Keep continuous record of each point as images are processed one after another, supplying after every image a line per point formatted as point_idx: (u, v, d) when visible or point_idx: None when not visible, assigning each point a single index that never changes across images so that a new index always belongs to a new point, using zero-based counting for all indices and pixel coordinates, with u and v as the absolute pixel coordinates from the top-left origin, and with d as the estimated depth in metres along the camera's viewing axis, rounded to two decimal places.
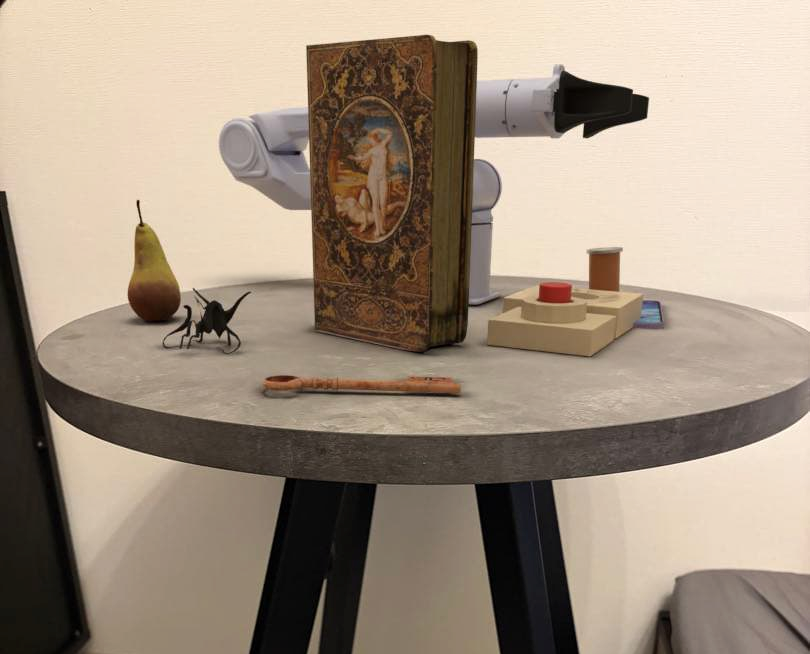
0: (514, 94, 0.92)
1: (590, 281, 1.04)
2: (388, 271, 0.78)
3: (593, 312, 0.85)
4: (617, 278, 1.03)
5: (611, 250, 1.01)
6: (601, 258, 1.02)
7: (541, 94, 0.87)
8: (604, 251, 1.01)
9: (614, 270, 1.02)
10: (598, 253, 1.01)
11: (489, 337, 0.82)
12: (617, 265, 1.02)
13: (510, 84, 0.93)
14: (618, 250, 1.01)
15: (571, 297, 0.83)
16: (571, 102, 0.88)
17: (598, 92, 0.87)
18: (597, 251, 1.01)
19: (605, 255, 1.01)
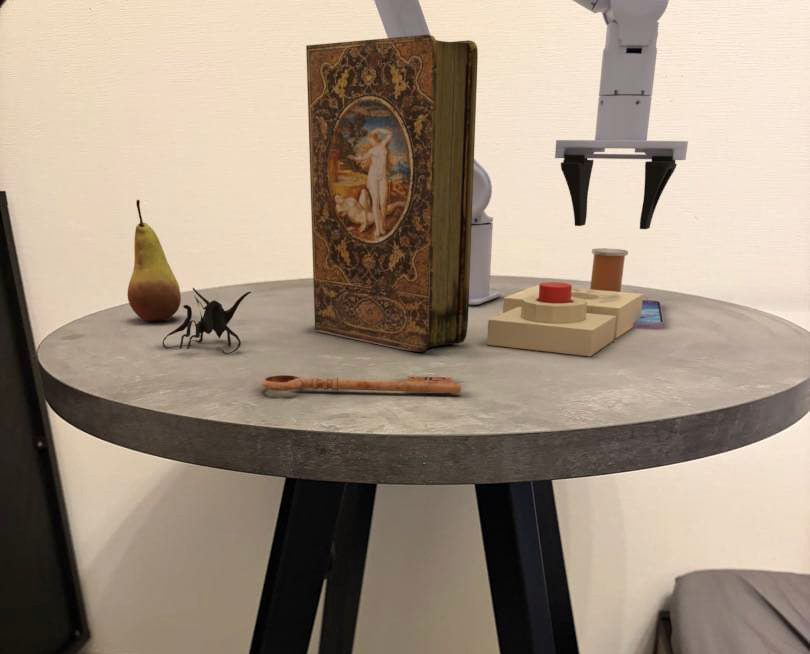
0: None
1: (593, 282, 1.03)
2: (388, 271, 0.78)
3: (593, 312, 0.85)
4: (620, 281, 1.03)
5: (618, 253, 1.01)
6: (607, 260, 1.01)
7: (686, 150, 0.95)
8: (611, 253, 1.01)
9: (618, 273, 1.02)
10: (605, 255, 1.01)
11: (489, 337, 0.82)
12: (621, 268, 1.02)
13: None
14: (624, 253, 1.01)
15: (571, 297, 0.83)
16: None
17: (654, 198, 0.99)
18: (604, 253, 1.01)
19: (612, 257, 1.01)
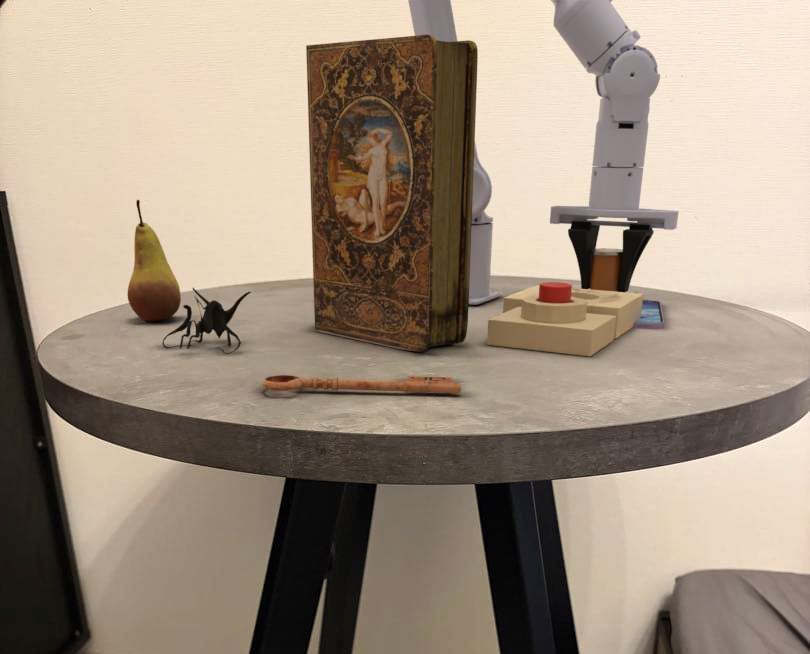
0: None
1: (592, 282, 1.03)
2: (388, 271, 0.78)
3: (593, 312, 0.85)
4: None
5: (617, 252, 1.01)
6: (606, 260, 1.01)
7: (676, 219, 0.98)
8: (610, 253, 1.01)
9: (617, 273, 1.02)
10: (604, 254, 1.01)
11: (489, 337, 0.82)
12: (620, 267, 1.02)
13: None
14: None
15: (571, 297, 0.83)
16: None
17: (632, 262, 1.03)
18: (603, 252, 1.01)
19: (610, 257, 1.01)
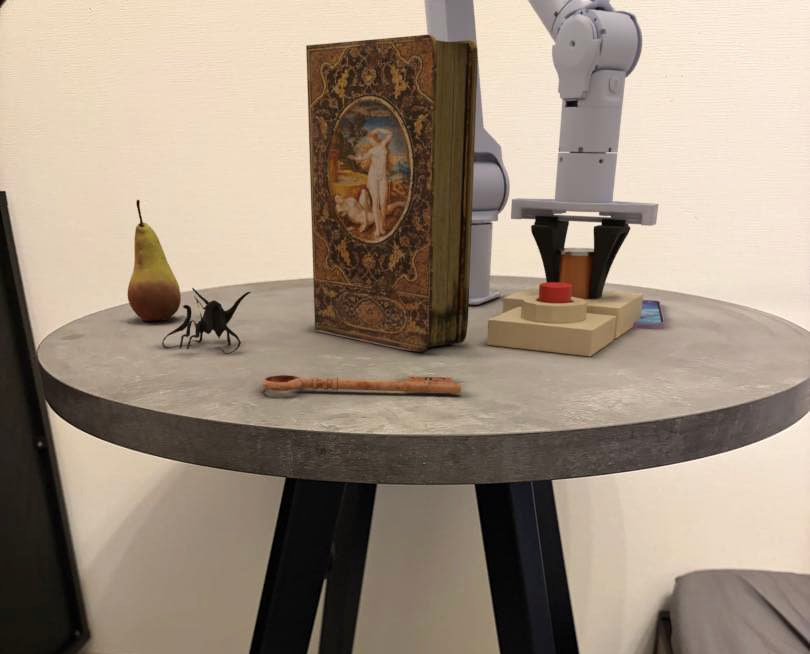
0: None
1: None
2: (388, 271, 0.78)
3: (593, 312, 0.85)
4: None
5: (587, 252, 0.87)
6: (575, 261, 0.87)
7: (656, 214, 0.84)
8: (580, 253, 0.87)
9: (588, 276, 0.88)
10: (572, 255, 0.87)
11: (489, 337, 0.82)
12: (592, 270, 0.88)
13: None
14: None
15: (571, 297, 0.83)
16: None
17: (606, 264, 0.89)
18: (571, 252, 0.87)
19: (580, 258, 0.87)
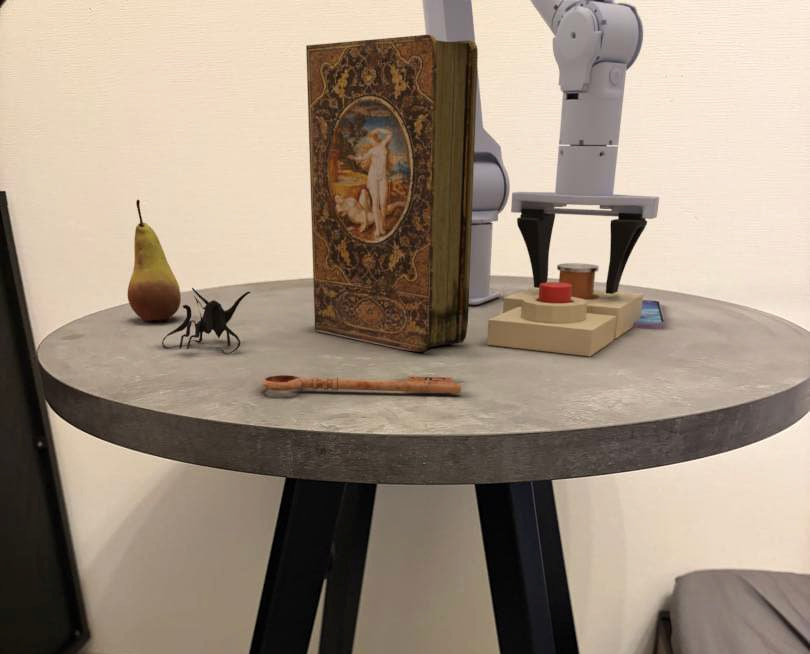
0: None
1: None
2: (388, 271, 0.78)
3: (593, 312, 0.85)
4: None
5: (587, 269, 0.87)
6: (574, 277, 0.88)
7: (657, 207, 0.84)
8: (579, 269, 0.87)
9: (588, 292, 0.89)
10: (572, 271, 0.88)
11: (489, 337, 0.82)
12: (591, 286, 0.89)
13: None
14: (594, 269, 0.88)
15: (571, 297, 0.83)
16: None
17: (622, 258, 0.88)
18: (571, 269, 0.87)
19: (580, 274, 0.88)
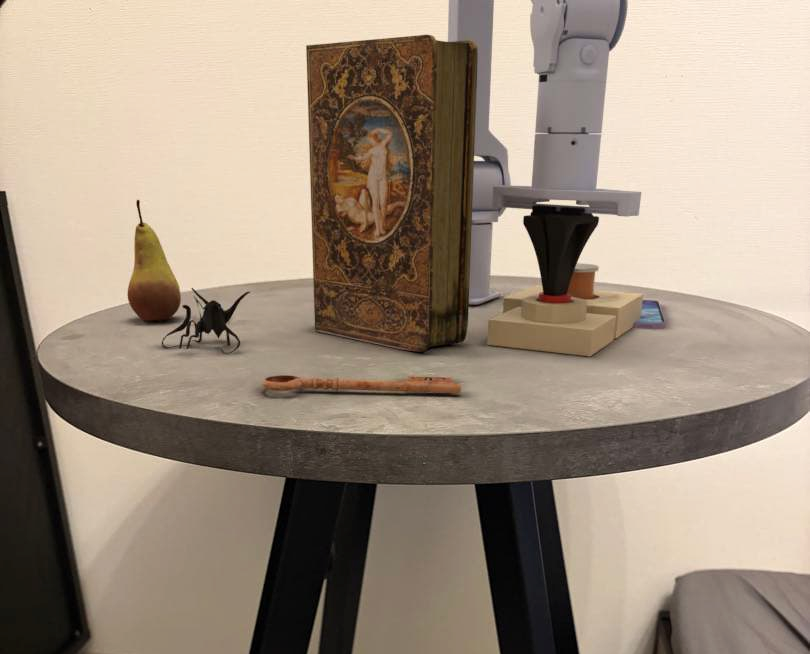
0: (599, 144, 0.75)
1: None
2: (388, 271, 0.78)
3: (593, 312, 0.85)
4: None
5: (587, 269, 0.87)
6: (574, 277, 0.88)
7: (637, 203, 0.74)
8: (579, 269, 0.87)
9: (588, 292, 0.89)
10: None
11: (489, 337, 0.82)
12: (591, 286, 0.89)
13: None
14: (594, 269, 0.88)
15: (571, 297, 0.83)
16: None
17: (570, 258, 0.80)
18: None
19: (580, 274, 0.88)
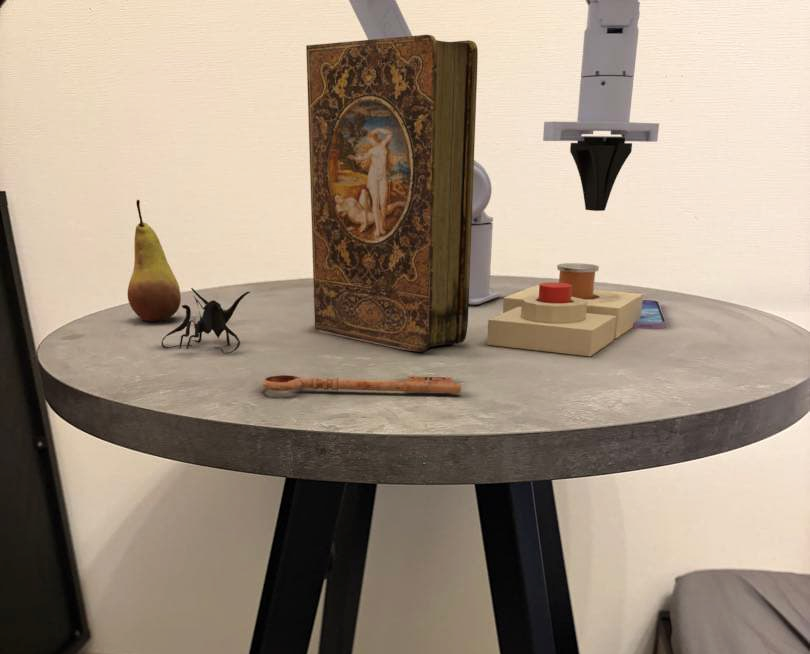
0: None
1: None
2: (388, 271, 0.78)
3: (593, 312, 0.85)
4: None
5: (587, 269, 0.87)
6: (574, 277, 0.88)
7: None
8: (579, 269, 0.87)
9: (588, 292, 0.89)
10: (572, 271, 0.88)
11: (489, 337, 0.82)
12: (591, 286, 0.89)
13: None
14: (594, 269, 0.88)
15: (571, 297, 0.83)
16: None
17: None
18: (571, 269, 0.87)
19: (580, 274, 0.88)
